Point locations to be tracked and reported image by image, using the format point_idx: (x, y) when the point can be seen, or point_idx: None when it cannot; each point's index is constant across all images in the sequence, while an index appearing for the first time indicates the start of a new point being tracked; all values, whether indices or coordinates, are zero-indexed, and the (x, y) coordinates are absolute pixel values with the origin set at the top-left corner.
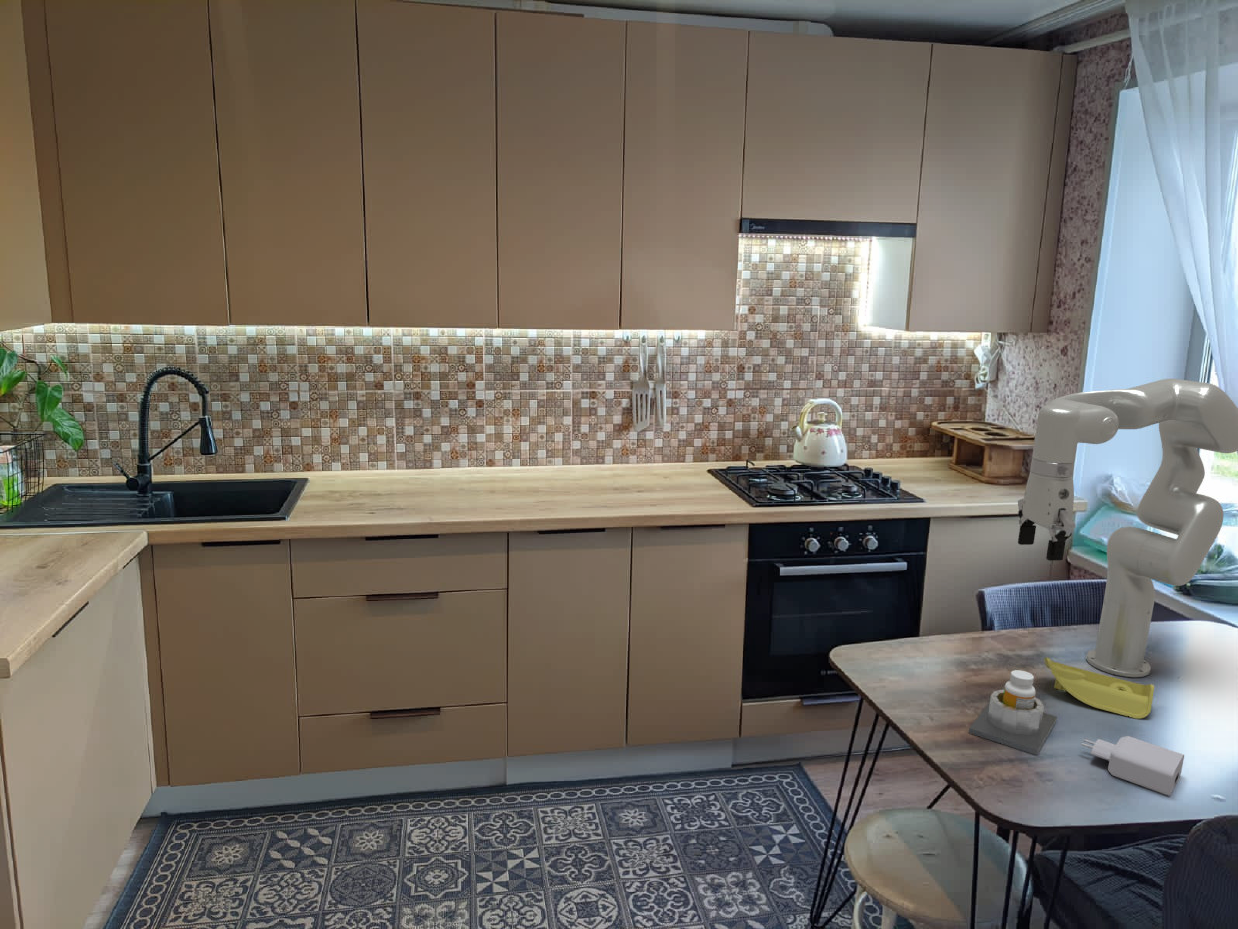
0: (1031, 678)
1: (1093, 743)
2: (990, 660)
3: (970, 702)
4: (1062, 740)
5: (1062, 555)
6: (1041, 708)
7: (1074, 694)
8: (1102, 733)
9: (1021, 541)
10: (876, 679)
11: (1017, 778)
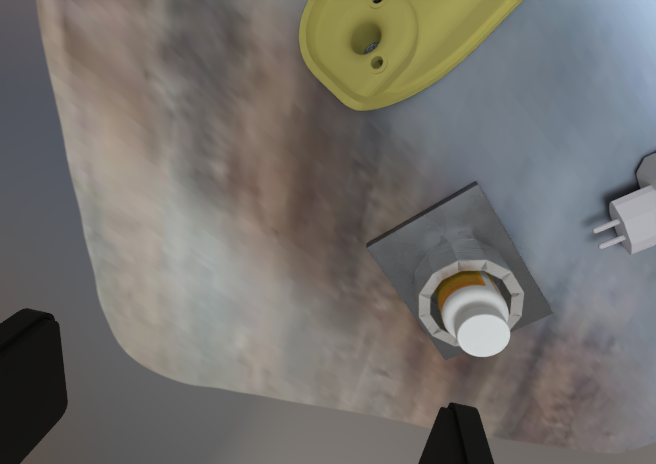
0: (508, 332)
1: (613, 225)
2: (194, 104)
3: (355, 281)
4: (534, 226)
5: (481, 443)
6: (517, 284)
7: (434, 79)
8: (554, 123)
9: (47, 424)
10: (240, 367)
11: (581, 378)
